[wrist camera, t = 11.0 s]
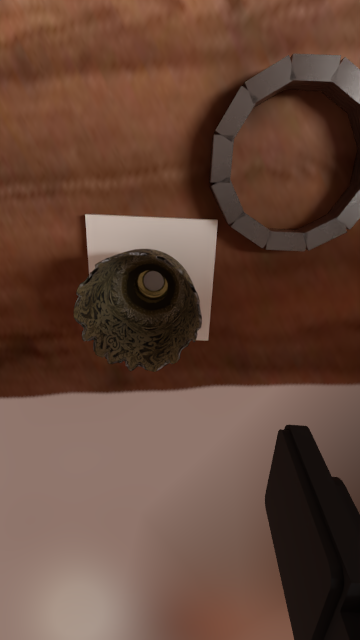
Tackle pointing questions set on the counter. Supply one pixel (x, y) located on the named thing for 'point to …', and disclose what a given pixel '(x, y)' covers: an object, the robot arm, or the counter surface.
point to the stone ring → (287, 74)
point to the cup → (138, 310)
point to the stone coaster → (160, 248)
